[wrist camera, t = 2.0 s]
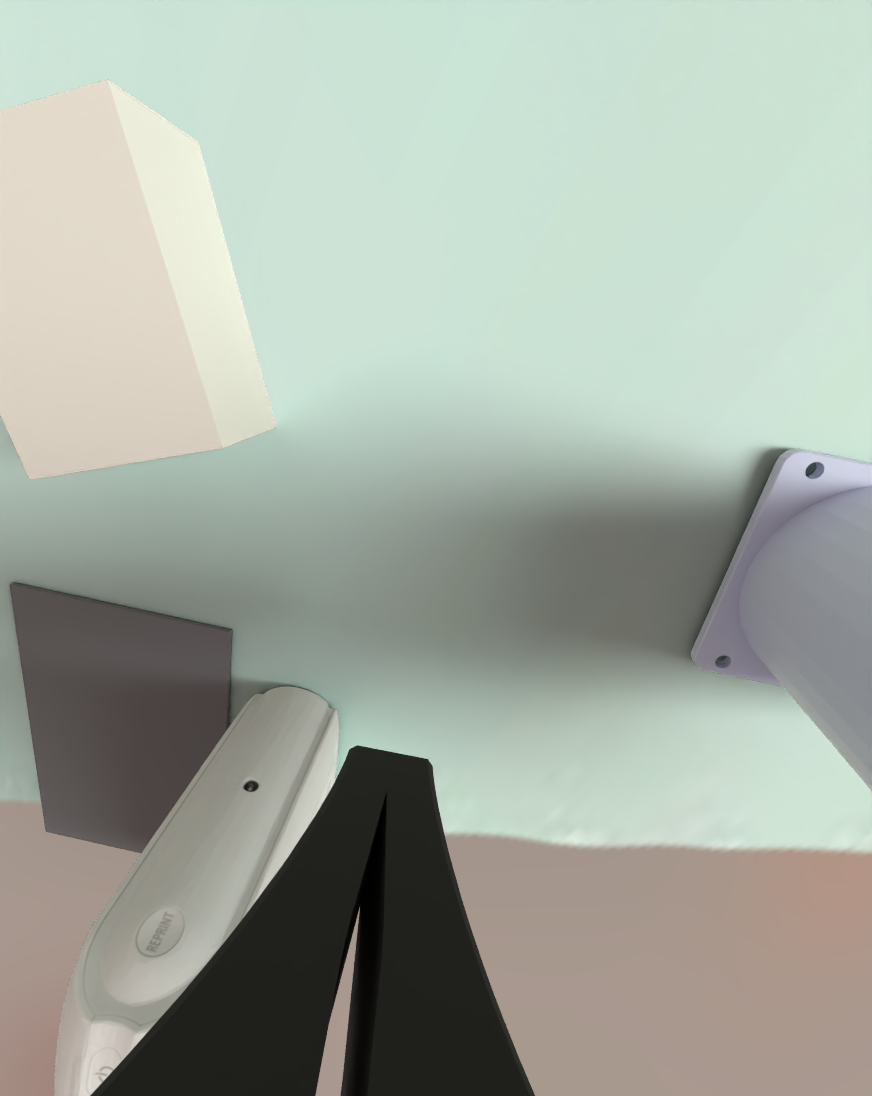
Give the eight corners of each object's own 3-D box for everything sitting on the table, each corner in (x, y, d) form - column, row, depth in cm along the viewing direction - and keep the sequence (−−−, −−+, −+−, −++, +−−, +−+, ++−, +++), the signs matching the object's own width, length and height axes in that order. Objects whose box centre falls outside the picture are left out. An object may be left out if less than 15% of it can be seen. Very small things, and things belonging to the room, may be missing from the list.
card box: (202, 145, 15) (107, 79, 11) (279, 426, 18) (223, 448, 14) (22, 192, 16) (-122, 145, 12) (121, 452, 19) (29, 480, 15)
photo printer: (247, 672, 21) (-34, 1055, 10) (350, 692, 21) (185, 1104, 10) (243, 846, 25) (38, 1265, 14) (330, 863, 25) (195, 1302, 14)
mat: (232, 629, 21) (229, 632, 20) (222, 867, 26) (220, 871, 26) (14, 582, 21) (9, 584, 21) (48, 828, 26) (45, 831, 26)
